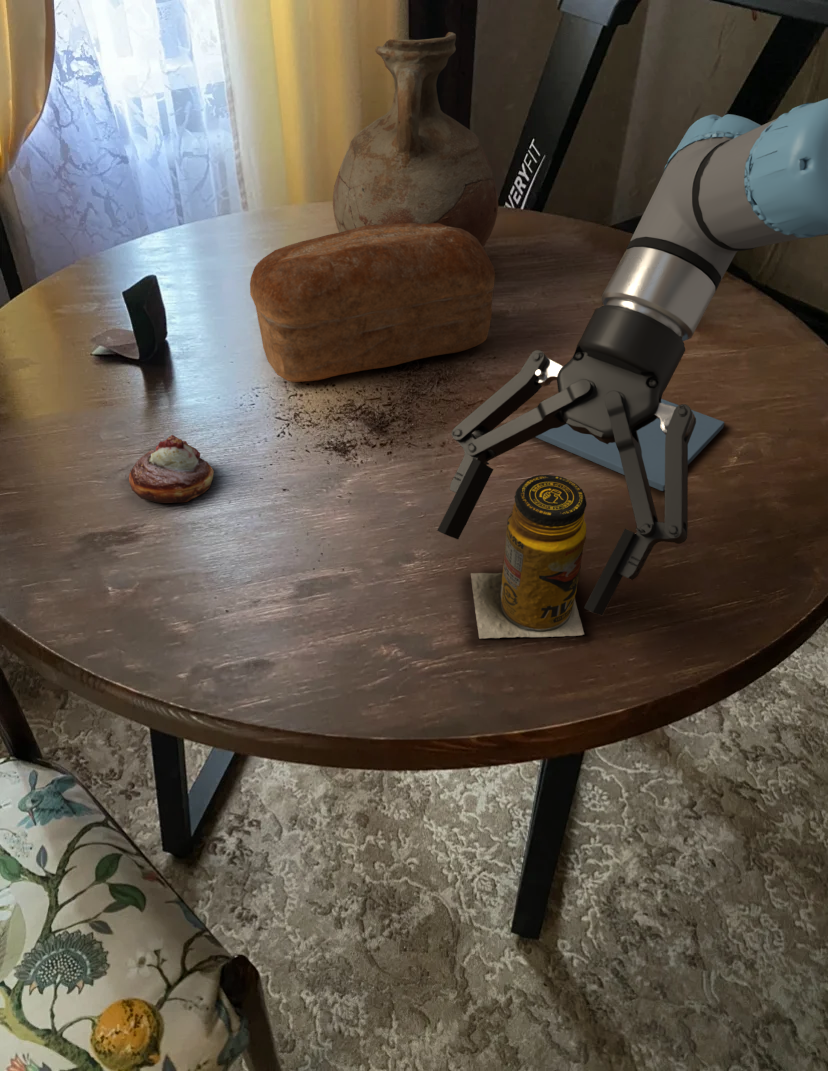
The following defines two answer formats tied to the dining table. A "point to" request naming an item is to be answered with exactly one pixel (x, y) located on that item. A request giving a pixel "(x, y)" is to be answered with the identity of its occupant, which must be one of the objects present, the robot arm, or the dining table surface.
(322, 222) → the dining table surface
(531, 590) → the condiment
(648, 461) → the sauce mat
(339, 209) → the jug
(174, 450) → the pastry
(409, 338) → the bread
